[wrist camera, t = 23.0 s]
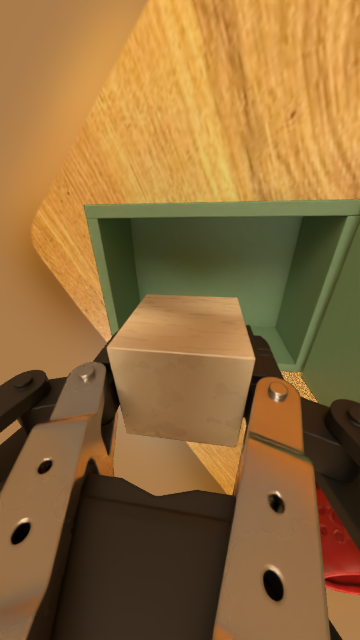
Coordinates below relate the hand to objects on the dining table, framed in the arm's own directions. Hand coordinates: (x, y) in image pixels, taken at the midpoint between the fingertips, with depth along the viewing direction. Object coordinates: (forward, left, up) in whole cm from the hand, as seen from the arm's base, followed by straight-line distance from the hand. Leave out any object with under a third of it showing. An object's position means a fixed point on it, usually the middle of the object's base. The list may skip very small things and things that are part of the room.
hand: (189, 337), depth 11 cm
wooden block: (0, 0, 0) cm, 0 cm away
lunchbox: (+1, 0, -12) cm, 12 cm away
